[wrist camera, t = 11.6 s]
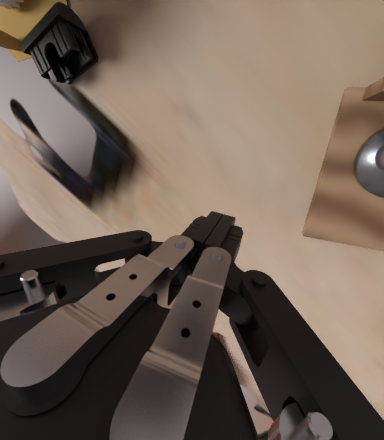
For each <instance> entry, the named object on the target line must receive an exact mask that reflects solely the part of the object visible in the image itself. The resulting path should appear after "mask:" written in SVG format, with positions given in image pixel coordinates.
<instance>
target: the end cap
mask: <svg viewBox="0 0 384 440" xmlns="http://www.w3.org/2000/svg"><path fill="white" fill-rule="evenodd" d="M21 46H22V50H23V52H24V53H26V54H28V55H31V56H32V57H33V60H34V61H35V64H36V65H37V68H38V70H39V72H40V74H41V76H42V77H43V78H46V79H50V76H49V74H48V72H49V71H51V73H52V75H53V77H54V79H55V81H56V82H60V83H65V82H66V83H68V84H71V83H72V82H73V81H74V80H75V79H77V78H78V77H79V76H80V75H81V74H83V73H84V72H85V71H86V70H88V69H89V68H90V67H91V66H92V65H94V64H95V63H96V62H97V61H98V56H97V53H96V51H95V48H94V46H93V44H92V41H91V39H90V37H89V35H88V32H87V30H86V28H85V26H84V24H83V23H82V21H81V20H80V19H79V17H78V16H77V15H76V14H75V13H74V11H73V10H72V9H70V8H69V7H68V6H67V5H65V4H64V3H62V2H56V3H55V4H54V5H53V6H52V7H51V9H50V10H49V11H48V12H47V13H46V14H45V15H44V16H43V18H42V19H41V20H40V21H39V22H38V23H37V24H36V25H35V27H34V28H33V29H32V30H31V31H30V32H29V33H28V34H27V36H26V37H25V38H24V39H23V40H22V42H21Z"/></svg>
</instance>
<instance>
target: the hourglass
mask: <svg viewBox="0 0 384 440" xmlns="http://www.w3.org/2000/svg"><path fill="white" fill-rule="evenodd" d="M56 2H62V3H64V4H65V5H67V1H66V0H0V46H1V47H4V48H7V49H9V50H10V52H11V53H12V54H13V55H14V57H15V58H16V59H17V60H18V61H19V62H20V61H23V60H26V59H29V58H32V56H31V55H28V54H26V53H24V52H23V50H22V46H21V42H22V40H23V39H24V38H25V37H26V36H27V34H28V33H29V32H30V31H31V30H32V29H33V28H34V27H35V25H36V24H37V23H38V22H39V21H40V20H41V19H42V18H43V16H44V15H45V14H46V13H47V12H48V11H49V10H50V9H51V7H52V6H53V5H54V4H55V3H56Z"/></svg>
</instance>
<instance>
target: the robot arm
mask: <svg viewBox="0 0 384 440" xmlns="http://www.w3.org/2000/svg"><path fill="white" fill-rule="evenodd" d="M234 223H235V217H232V216H228V215H223V214H221V213H217V212H214V211H211V213H210V214H209V215H208V216H207V217H203V216H201V217H198V218H196V219H195V220H194V221H193V222H192V223H191V224H190V225H189V227H188V228H187V229H186V230H185V231H184V232H183V233H182V234H181V235H176V236H172V237H170V238H169V239H167V240H166V241H165V242H155V241H152V236H151V235H150V234H149V233H148V232H146V231H141V230H136V231H130V232H124V233H119V234H113V235H108V236H103V237H97V238H92V239H86V240H81V241H75V242H70V243H64V244H59V245H54V246H48V247H42V248H37V249H31V250H26V251H20V252H15V253H10V254H4V255H0V440H259V437H258V434H257V432H256V429H255V426H254V423H253V420H252V418H251V415H250V412H249V409H248V407H247V404H246V401H245V398H244V395H243V393H242V390H241V387H240V384H239V381H238V378H237V376H236V373H235V370H234V367H233V364H232V362H231V359H230V357H229V355H228V353H227V351H226V349H225V348H224V346H223V345H222V343H221V342H220V341H219V340H218V339H217V338H216V337H215V336H214V335H213V334H212V332H213V328H214V324H215V321H216V317H217V313H218V309H220V310H221V311H222V312H223V313H225V314H226V315H227V316H228V317H230V318H229V322H230V325H231V328H232V330H233V332H234V334H235V336H236V339H237V341H238V343H239V345H240V348H241V350H242V352H243V354H244V357H245V359H246V361H247V363H248V365H249V368H250V370H251V372H252V374H253V377H254V379H255V381H256V383H257V386H258V388H259V390H260V392H261V394H262V397H263V399H264V401H265V403H266V406H267V408H268V410H269V412H270V414H271V417H272V419H273V421H274V422H273V424H272V425H271V427H270V429H269V433H268V440H384V420H383V419H382V418H381V417H380V415H379V414H378V413H377V411H376V410H375V409H374V408H373V406H372V405H371V404H370V403H369V401H368V400H367V399H366V397H365V396H364V395H363V394H362V392H361V391H360V390H359V389H358V387H357V386H356V385H355V384H354V382H353V381H352V380H351V378H350V377H349V376H348V375H347V373H346V372H345V371H344V370H343V368H342V367H341V366H340V364H339V363H338V362H337V361H336V359H335V358H334V357H333V356H332V354H331V353H330V352H329V351H328V349H327V348H326V347H325V345H324V344H323V343H322V342H321V340H320V339H319V338H318V337H317V335H316V334H315V333H314V331H313V330H312V329H311V328H310V326H309V325H308V324H307V323H306V321H305V320H304V319H303V318H302V316H301V315H300V314H299V312H298V311H297V310H296V309H295V307H294V306H293V305H292V304H291V302H290V301H289V300H288V298H287V297H286V296H285V295H284V293H283V292H282V291H281V290H280V288H279V287H278V286H277V285H276V283H275V282H274V281H273V280H272V278H271V277H269V276H268V275H267V274H265V273H263V272H260V271H257V270H249V271H246V272H243V271H242V270H240V269H239V268H238V267H237V266H236V265H235V263H234V262H235V259H236V256H237V254H238V250H239V247H240V243H241V239H242V235H243V231H242V228H241V227H238V226H234ZM124 258H125V264H124V265H123V266H122V267H119V268H115V269H111V270H107V271H103V272H96V271H94V270H95V268H96V267H97V266H98V265H100V264H103V263H107V262H111V261H115V260H119V259H124Z"/></svg>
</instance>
